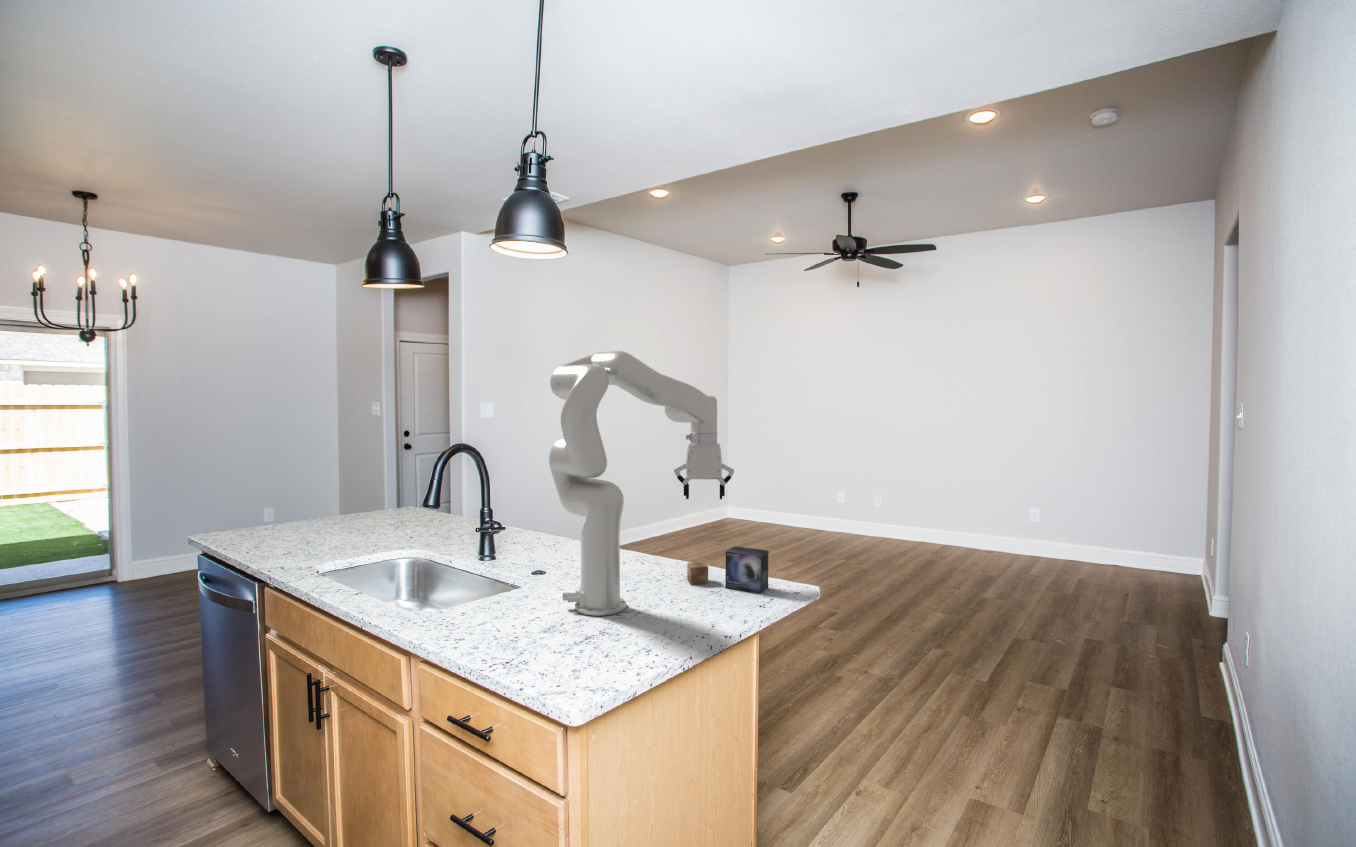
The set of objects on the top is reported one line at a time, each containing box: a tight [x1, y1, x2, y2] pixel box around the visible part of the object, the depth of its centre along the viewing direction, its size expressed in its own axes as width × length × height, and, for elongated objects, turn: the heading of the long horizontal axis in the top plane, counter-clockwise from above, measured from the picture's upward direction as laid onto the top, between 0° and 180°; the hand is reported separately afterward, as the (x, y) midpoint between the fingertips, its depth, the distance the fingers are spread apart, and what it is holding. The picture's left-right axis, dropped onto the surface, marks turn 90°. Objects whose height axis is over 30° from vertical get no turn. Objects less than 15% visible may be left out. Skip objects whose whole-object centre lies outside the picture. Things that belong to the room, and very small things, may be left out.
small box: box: [724, 545, 770, 594], centre depth 178 cm, size 11×6×10 cm, turn 62°
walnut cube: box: [686, 561, 709, 586], centre depth 184 cm, size 5×5×5 cm
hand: (704, 498), depth 188 cm, fingers open, 9 cm apart
